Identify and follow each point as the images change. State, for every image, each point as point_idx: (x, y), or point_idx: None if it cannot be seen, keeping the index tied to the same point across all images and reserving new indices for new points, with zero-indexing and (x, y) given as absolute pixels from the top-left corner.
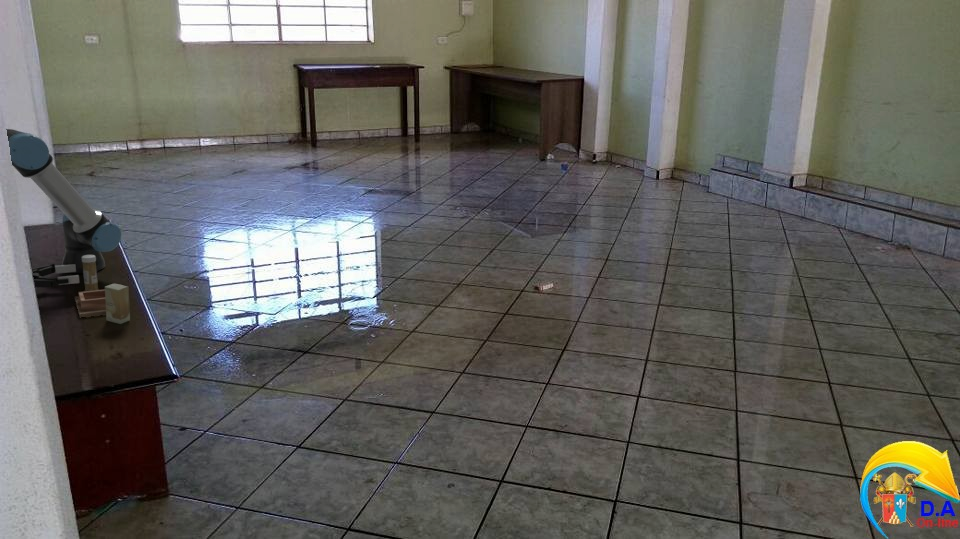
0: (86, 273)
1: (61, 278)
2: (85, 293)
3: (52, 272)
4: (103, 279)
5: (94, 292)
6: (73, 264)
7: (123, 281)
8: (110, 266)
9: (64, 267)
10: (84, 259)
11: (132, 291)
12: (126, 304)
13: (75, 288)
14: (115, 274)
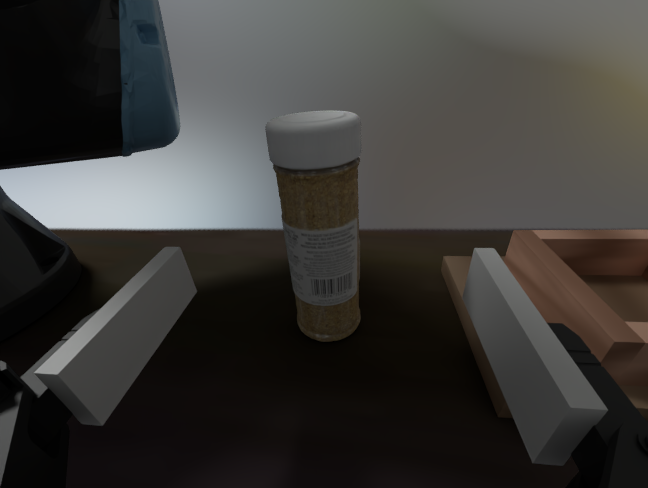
0: (350, 239)
1: (568, 375)
2: (608, 313)
3: (60, 455)
4: (199, 272)
5: (573, 277)
6: (161, 253)
7: (269, 236)
8: (80, 246)
9: (135, 314)
10: (346, 136)
11: (389, 230)
12: None
13: (240, 379)
14: (177, 244)
